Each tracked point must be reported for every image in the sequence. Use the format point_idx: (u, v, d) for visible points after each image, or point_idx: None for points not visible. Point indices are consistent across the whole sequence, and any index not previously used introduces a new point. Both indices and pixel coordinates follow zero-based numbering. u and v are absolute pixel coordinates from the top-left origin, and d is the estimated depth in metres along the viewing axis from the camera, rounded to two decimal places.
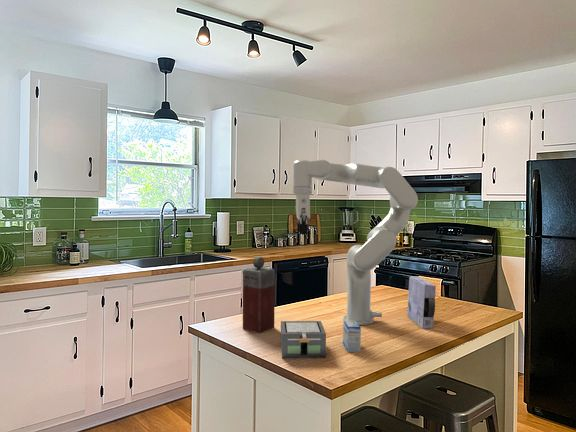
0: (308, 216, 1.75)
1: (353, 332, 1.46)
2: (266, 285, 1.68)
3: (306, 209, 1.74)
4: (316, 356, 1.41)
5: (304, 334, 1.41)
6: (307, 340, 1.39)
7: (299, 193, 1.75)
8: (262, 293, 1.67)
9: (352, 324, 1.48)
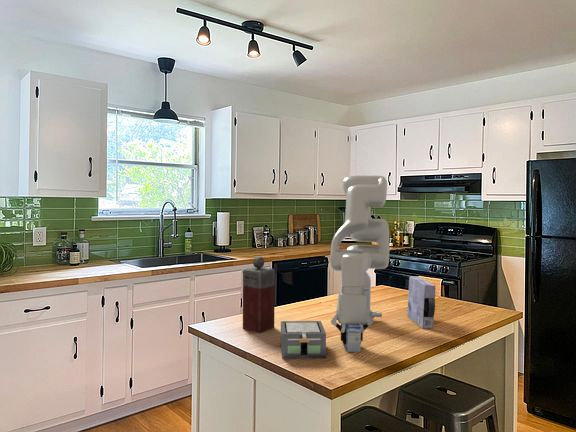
0: None
1: (353, 332, 1.46)
2: (266, 285, 1.68)
3: None
4: (316, 356, 1.41)
5: (304, 334, 1.41)
6: (307, 340, 1.39)
7: (363, 293, 1.48)
8: (262, 293, 1.67)
9: (352, 324, 1.48)
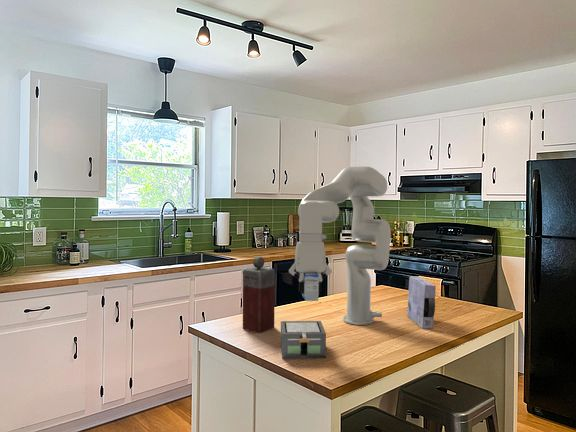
0: None
1: (311, 280, 1.43)
2: (266, 285, 1.68)
3: None
4: (316, 356, 1.41)
5: (304, 334, 1.41)
6: (307, 340, 1.39)
7: (321, 241, 1.45)
8: (262, 293, 1.67)
9: (311, 273, 1.45)
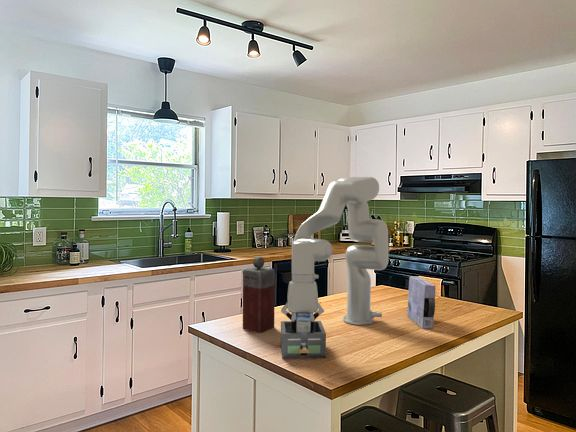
0: None
1: (303, 321, 1.43)
2: (266, 285, 1.68)
3: None
4: (316, 356, 1.41)
5: (304, 345, 1.41)
6: (307, 351, 1.39)
7: (313, 281, 1.45)
8: (262, 293, 1.67)
9: (303, 313, 1.45)
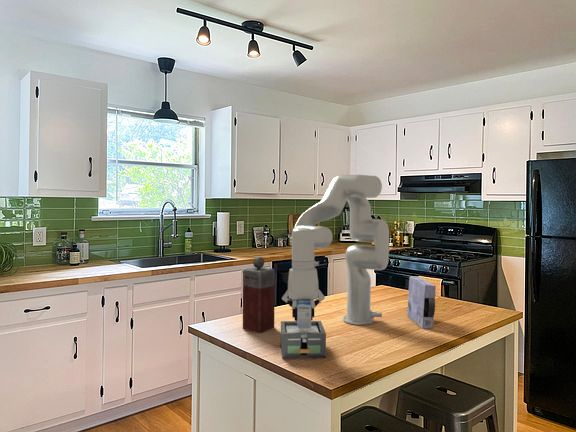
0: None
1: (303, 308, 1.43)
2: (266, 285, 1.68)
3: None
4: (316, 356, 1.41)
5: (304, 337, 1.41)
6: (307, 351, 1.39)
7: (313, 268, 1.45)
8: (262, 293, 1.67)
9: (303, 300, 1.46)
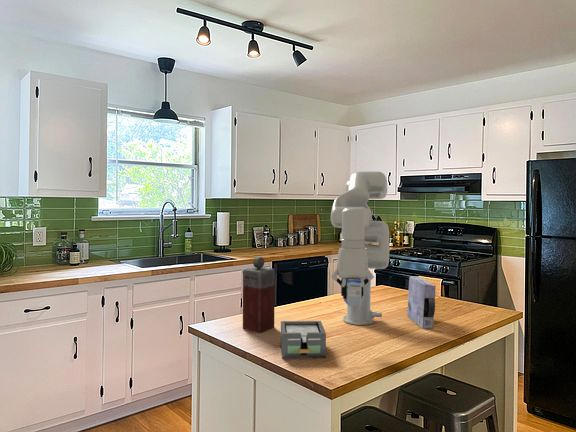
0: None
1: (354, 286, 1.46)
2: (266, 285, 1.68)
3: None
4: (316, 356, 1.41)
5: (304, 337, 1.41)
6: (307, 351, 1.39)
7: (363, 247, 1.48)
8: (262, 293, 1.67)
9: (353, 279, 1.48)
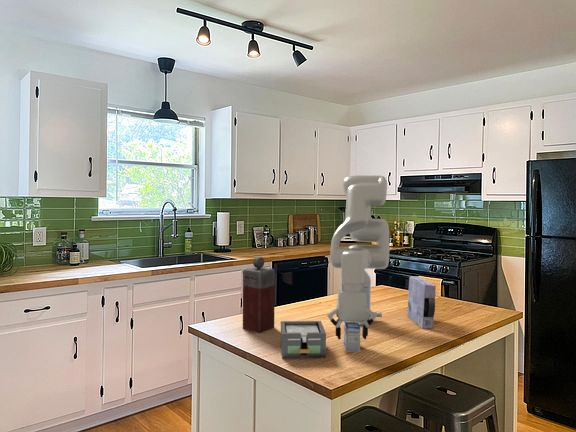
0: None
1: (353, 332, 1.47)
2: (266, 285, 1.68)
3: None
4: (316, 356, 1.41)
5: (304, 337, 1.41)
6: (307, 351, 1.39)
7: (363, 291, 1.48)
8: (262, 293, 1.67)
9: (352, 324, 1.49)
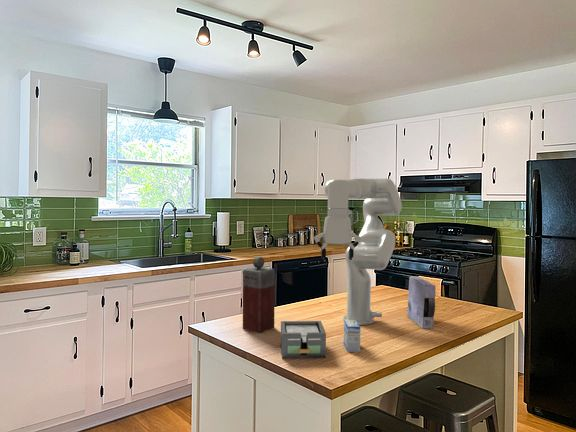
0: None
1: (353, 332, 1.47)
2: (266, 285, 1.68)
3: None
4: (316, 356, 1.41)
5: (304, 337, 1.41)
6: (307, 351, 1.39)
7: (347, 216, 1.61)
8: (262, 293, 1.67)
9: (352, 324, 1.49)
